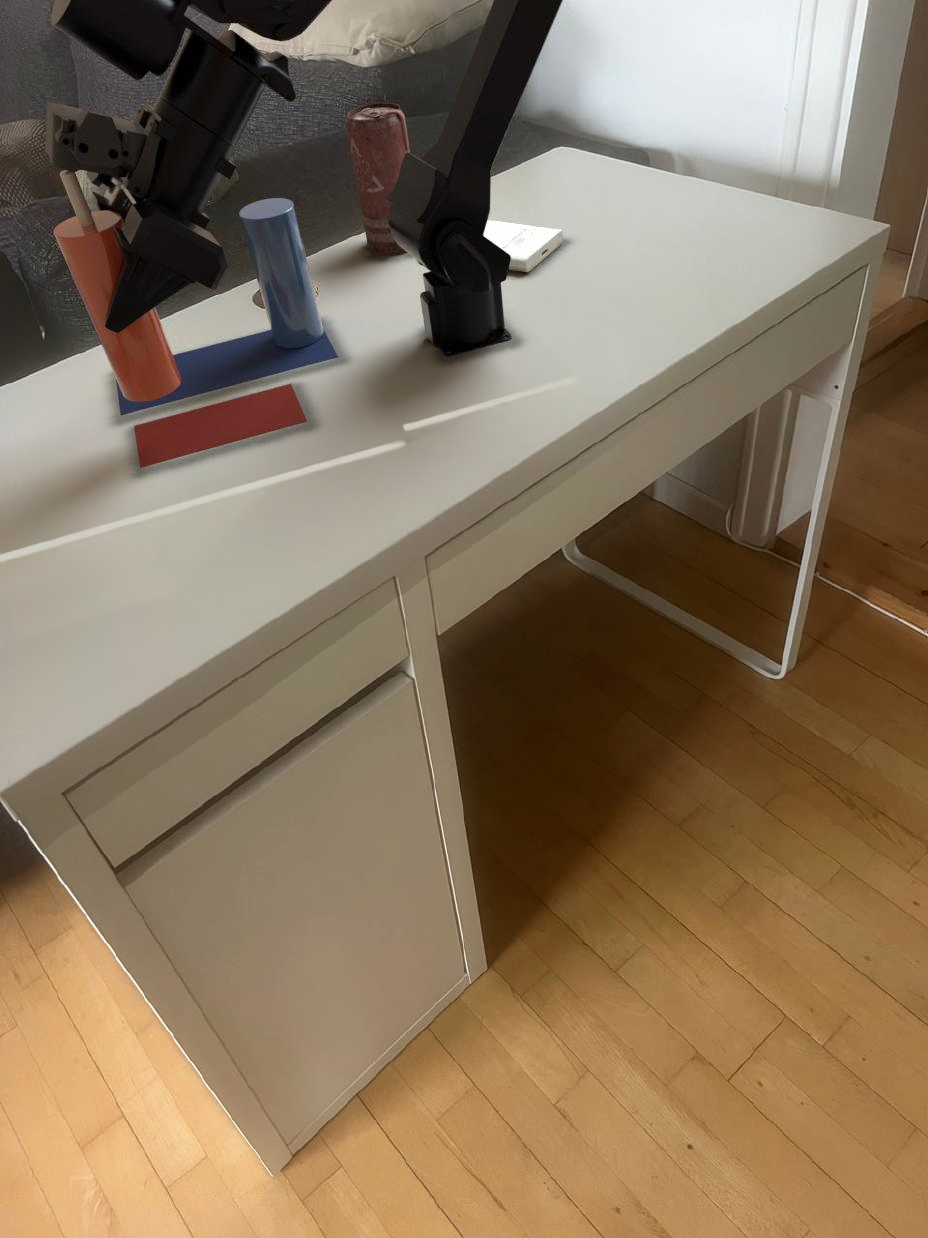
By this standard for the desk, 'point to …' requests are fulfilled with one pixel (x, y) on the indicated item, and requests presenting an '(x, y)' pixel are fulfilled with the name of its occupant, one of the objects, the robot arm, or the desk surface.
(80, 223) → the orange red candle
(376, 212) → the can
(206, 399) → the desk surface
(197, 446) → the oxblood mat
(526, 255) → the hard drive
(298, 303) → the slate blue jar
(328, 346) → the navy mat
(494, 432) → the desk surface
